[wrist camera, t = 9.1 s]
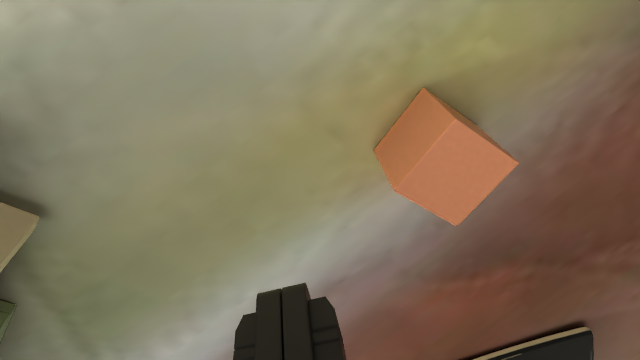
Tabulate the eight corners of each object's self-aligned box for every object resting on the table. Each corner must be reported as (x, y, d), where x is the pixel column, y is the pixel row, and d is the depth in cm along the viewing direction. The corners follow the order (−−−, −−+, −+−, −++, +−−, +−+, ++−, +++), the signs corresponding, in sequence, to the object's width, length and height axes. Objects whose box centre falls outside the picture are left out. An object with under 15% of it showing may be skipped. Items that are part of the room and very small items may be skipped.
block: (478, 126, 24) (519, 163, 20) (428, 183, 26) (457, 227, 22) (423, 86, 22) (456, 118, 18) (373, 150, 24) (393, 191, 20)
